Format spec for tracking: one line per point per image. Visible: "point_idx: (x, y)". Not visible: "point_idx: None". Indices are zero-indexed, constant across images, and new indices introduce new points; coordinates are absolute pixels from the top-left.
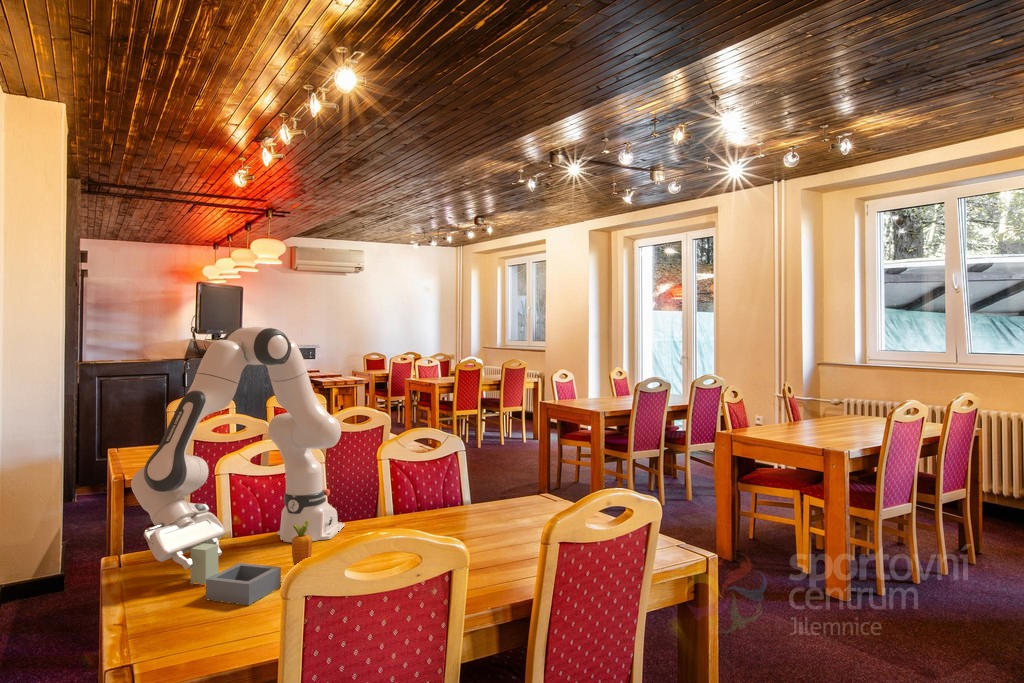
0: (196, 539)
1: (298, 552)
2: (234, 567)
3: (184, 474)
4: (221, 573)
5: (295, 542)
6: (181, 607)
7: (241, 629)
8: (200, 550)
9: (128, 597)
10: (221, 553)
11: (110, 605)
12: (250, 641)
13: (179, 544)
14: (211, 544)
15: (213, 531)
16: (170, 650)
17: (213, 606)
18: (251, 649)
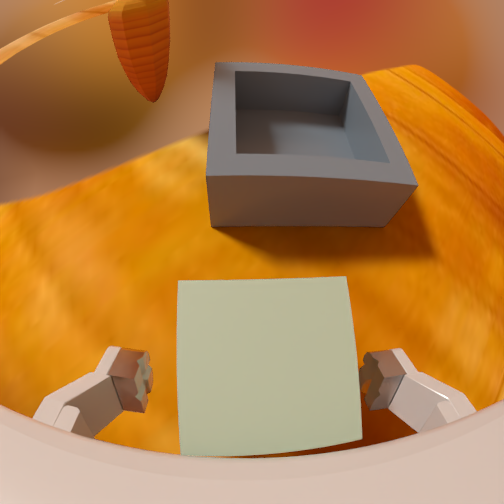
0: (282, 487)
1: (169, 26)
2: (272, 160)
3: None
4: (352, 167)
5: (166, 3)
6: (442, 256)
7: (411, 98)
8: (352, 332)
9: None
10: (116, 347)
11: None
12: (418, 82)
13: (485, 440)
14: (188, 353)
15: (3, 451)
16: (495, 156)
17: None
18: (426, 78)
